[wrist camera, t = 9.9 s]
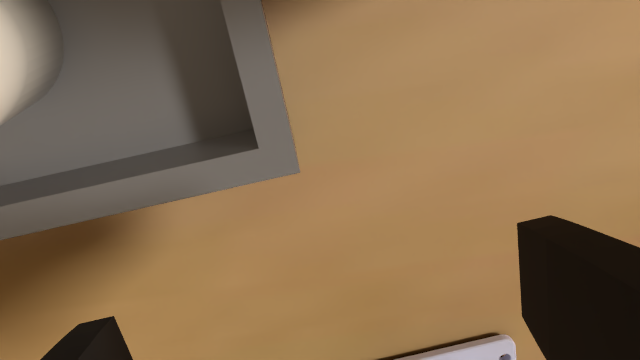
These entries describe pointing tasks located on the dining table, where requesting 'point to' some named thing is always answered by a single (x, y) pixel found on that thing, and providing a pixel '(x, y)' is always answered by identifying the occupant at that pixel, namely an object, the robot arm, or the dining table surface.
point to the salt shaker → (27, 54)
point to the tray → (146, 113)
